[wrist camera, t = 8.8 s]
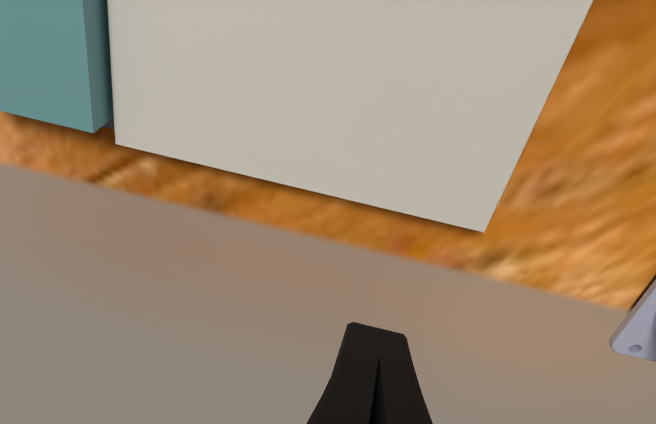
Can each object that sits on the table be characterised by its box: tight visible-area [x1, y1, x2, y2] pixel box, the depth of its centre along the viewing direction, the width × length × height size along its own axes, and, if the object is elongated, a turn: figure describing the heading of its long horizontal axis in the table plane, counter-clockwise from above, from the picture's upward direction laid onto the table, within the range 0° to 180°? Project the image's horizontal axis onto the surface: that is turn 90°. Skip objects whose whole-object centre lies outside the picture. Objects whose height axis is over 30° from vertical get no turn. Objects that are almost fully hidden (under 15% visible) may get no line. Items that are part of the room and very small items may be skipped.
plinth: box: [107, 0, 593, 232], centre depth 16 cm, size 14×10×2 cm
